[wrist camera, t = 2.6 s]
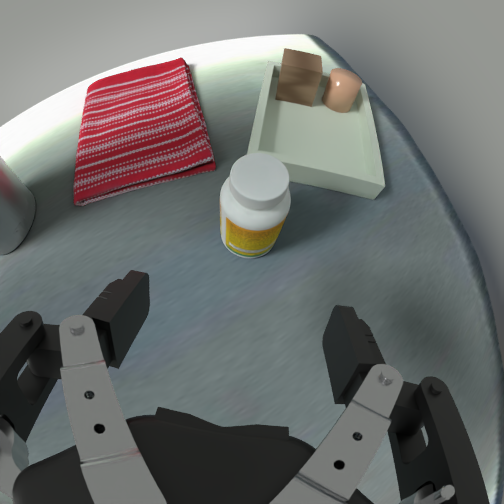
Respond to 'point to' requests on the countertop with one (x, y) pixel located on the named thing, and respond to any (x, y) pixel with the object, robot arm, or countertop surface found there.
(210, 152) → the dish towel
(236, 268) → the countertop surface
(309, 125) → the tray
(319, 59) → the walnut block
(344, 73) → the peach rounded cylinder
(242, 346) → the countertop surface
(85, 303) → the countertop surface
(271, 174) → the supplement bottle
